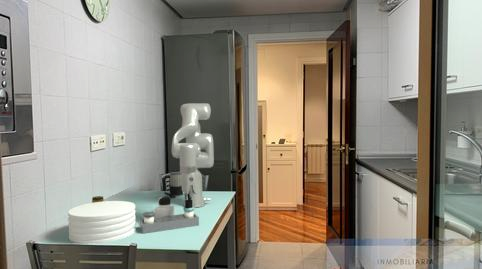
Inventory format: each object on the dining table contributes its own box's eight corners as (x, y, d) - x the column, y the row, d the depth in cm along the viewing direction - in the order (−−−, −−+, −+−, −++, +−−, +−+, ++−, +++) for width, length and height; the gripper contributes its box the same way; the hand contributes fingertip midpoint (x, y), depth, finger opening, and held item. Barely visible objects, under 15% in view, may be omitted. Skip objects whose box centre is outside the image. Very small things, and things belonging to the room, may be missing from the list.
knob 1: (153, 226, 163) (153, 211, 163) (156, 229, 158) (155, 213, 158) (142, 227, 161) (142, 212, 161) (144, 230, 156) (144, 215, 156)
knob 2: (192, 219, 171) (192, 205, 171) (195, 222, 166) (195, 208, 166) (182, 221, 169) (182, 207, 169) (185, 224, 164) (185, 209, 164)
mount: (193, 220, 173) (193, 212, 173) (199, 225, 165) (198, 217, 165) (139, 228, 162) (139, 219, 162) (143, 233, 154) (142, 224, 154)
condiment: (88, 220, 176) (88, 197, 176) (104, 216, 183) (103, 194, 182) (95, 223, 172) (95, 199, 171) (111, 219, 178) (111, 196, 178)
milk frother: (181, 192, 242) (181, 171, 242) (187, 197, 228) (186, 174, 227) (161, 194, 237) (160, 173, 236) (165, 199, 222) (165, 176, 222)
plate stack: (83, 225, 170) (82, 201, 169) (141, 222, 172) (141, 199, 171) (57, 245, 142) (56, 217, 141) (127, 242, 144) (126, 215, 143)
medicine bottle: (174, 219, 175) (174, 196, 175) (167, 223, 169) (166, 199, 168) (162, 218, 178) (161, 195, 177) (154, 222, 171) (154, 198, 170)
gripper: (200, 171, 161) (201, 210, 162) (191, 167, 175) (191, 203, 176) (184, 172, 158) (185, 212, 159) (176, 168, 172) (177, 205, 172)
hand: (188, 207), depth 167 cm, fingers closed
